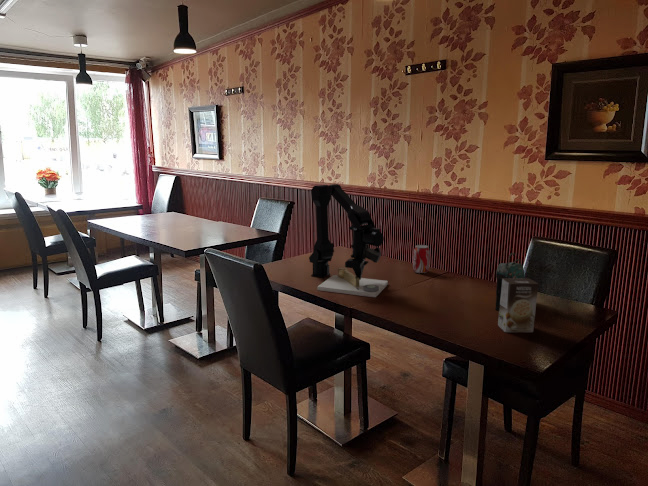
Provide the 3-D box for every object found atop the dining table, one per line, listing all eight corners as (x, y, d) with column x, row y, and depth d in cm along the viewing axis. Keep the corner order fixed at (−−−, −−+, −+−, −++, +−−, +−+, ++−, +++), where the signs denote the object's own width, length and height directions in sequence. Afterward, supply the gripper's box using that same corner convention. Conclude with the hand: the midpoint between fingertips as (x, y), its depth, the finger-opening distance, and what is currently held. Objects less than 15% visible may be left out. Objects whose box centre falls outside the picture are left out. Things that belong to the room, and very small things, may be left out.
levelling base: (317, 290, 195) (317, 282, 194) (333, 278, 211) (333, 271, 210) (375, 297, 186) (375, 289, 185) (387, 284, 202) (387, 277, 201)
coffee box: (505, 333, 152) (509, 283, 149) (497, 325, 159) (501, 277, 155) (534, 332, 153) (538, 283, 149) (525, 324, 159) (529, 277, 155)
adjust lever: (336, 276, 208) (336, 268, 207) (345, 275, 209) (345, 267, 209) (352, 287, 192) (352, 278, 192) (362, 286, 194) (362, 277, 193)
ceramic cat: (506, 314, 168) (511, 258, 164) (488, 310, 172) (492, 255, 168) (526, 300, 183) (531, 248, 179) (509, 296, 187) (513, 245, 183)
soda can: (424, 275, 216) (425, 248, 213) (410, 272, 220) (411, 246, 217) (431, 271, 221) (432, 245, 219) (417, 269, 225) (418, 243, 223)
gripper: (372, 249, 182) (371, 288, 185) (385, 238, 198) (384, 275, 202) (344, 246, 186) (344, 285, 189) (359, 236, 202) (359, 272, 206)
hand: (359, 279), depth 197 cm, fingers closed
